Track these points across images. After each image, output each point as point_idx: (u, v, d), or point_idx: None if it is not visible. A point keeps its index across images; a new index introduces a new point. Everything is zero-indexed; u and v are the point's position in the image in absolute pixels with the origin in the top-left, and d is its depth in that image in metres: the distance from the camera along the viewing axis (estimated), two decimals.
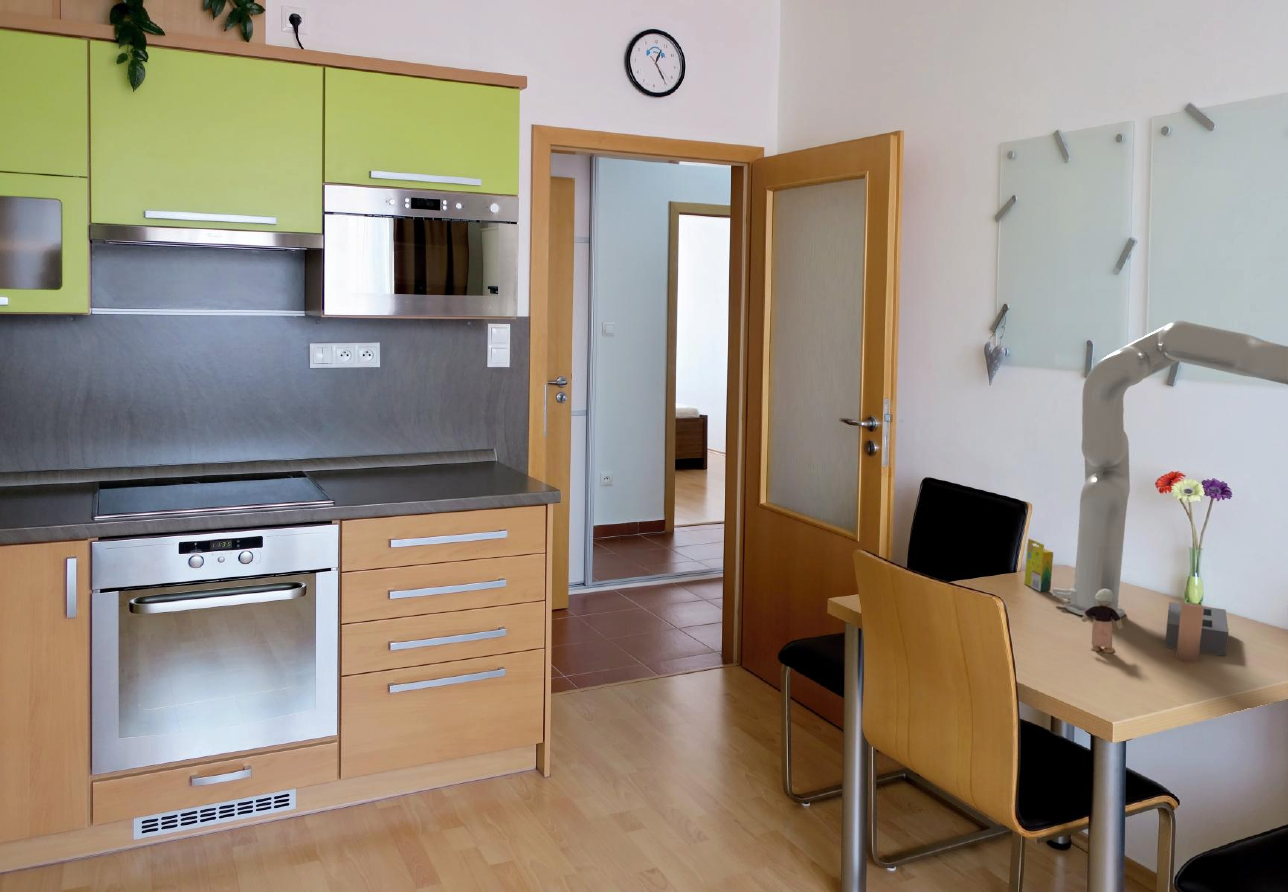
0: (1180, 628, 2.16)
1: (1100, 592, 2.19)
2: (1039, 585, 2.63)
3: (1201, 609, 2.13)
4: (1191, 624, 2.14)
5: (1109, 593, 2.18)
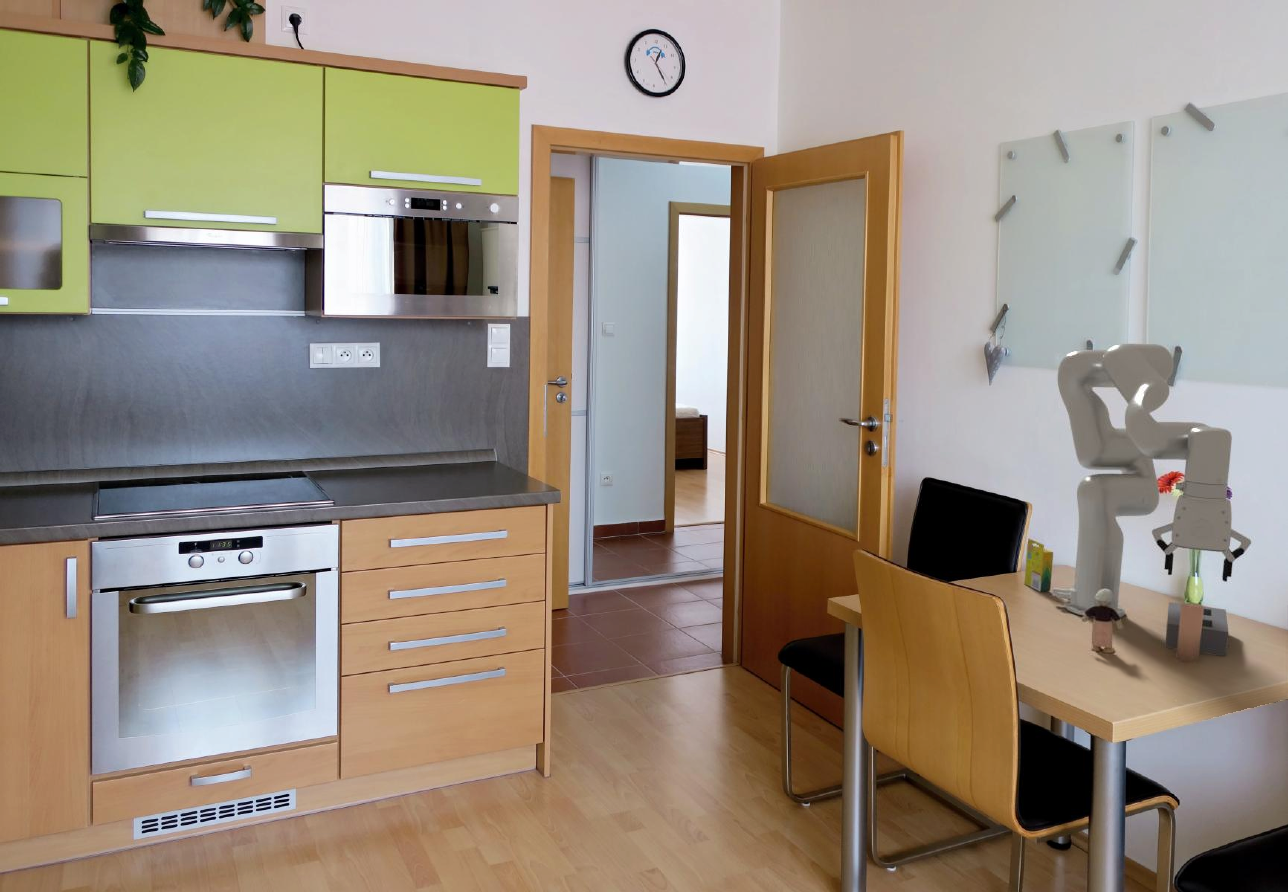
0: (1180, 628, 2.16)
1: (1100, 592, 2.19)
2: (1039, 585, 2.63)
3: (1201, 609, 2.13)
4: (1191, 624, 2.14)
5: (1109, 593, 2.18)
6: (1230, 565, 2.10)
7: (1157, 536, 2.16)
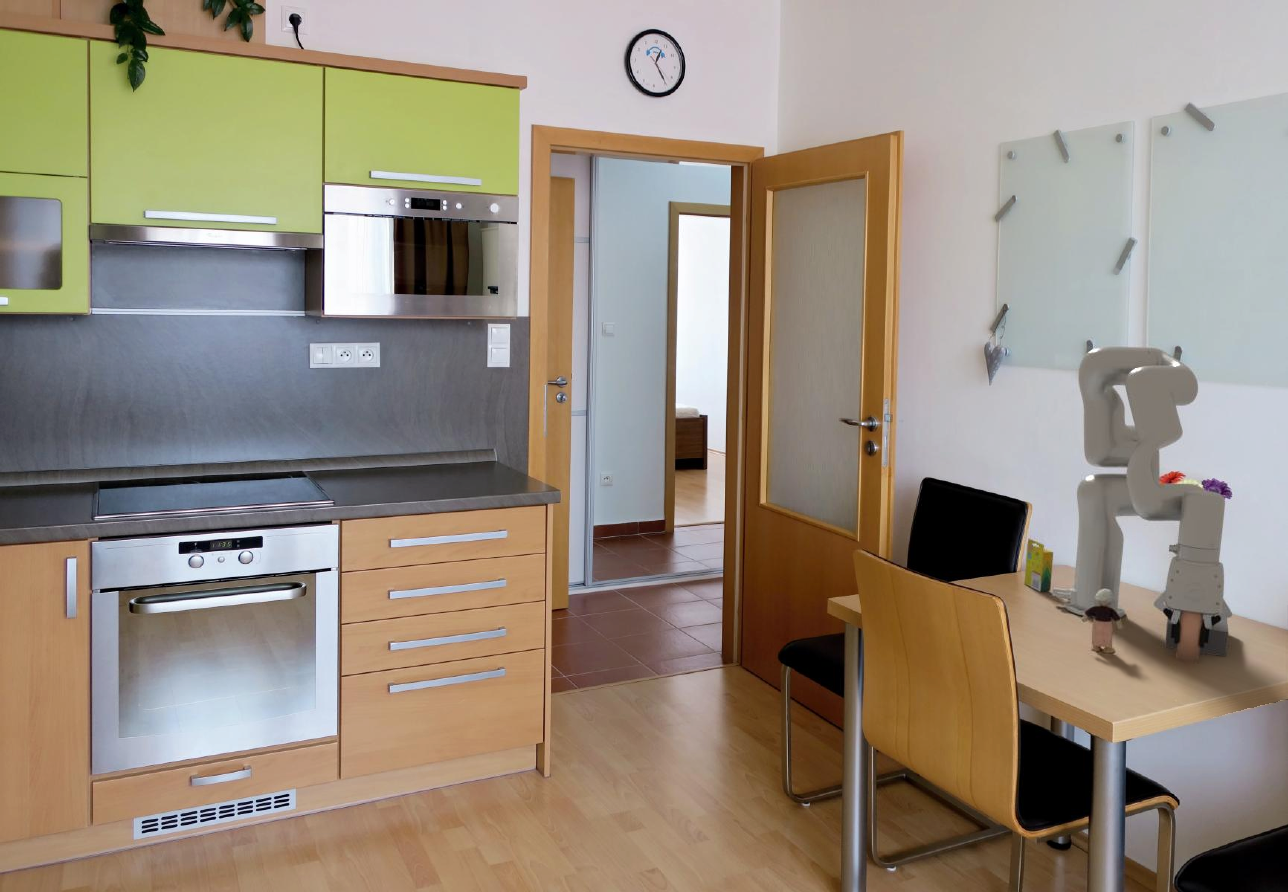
0: (1180, 628, 2.16)
1: (1100, 592, 2.19)
2: (1039, 585, 2.63)
3: None
4: (1191, 624, 2.14)
5: (1109, 593, 2.18)
6: (1207, 632, 2.14)
7: (1161, 607, 2.17)
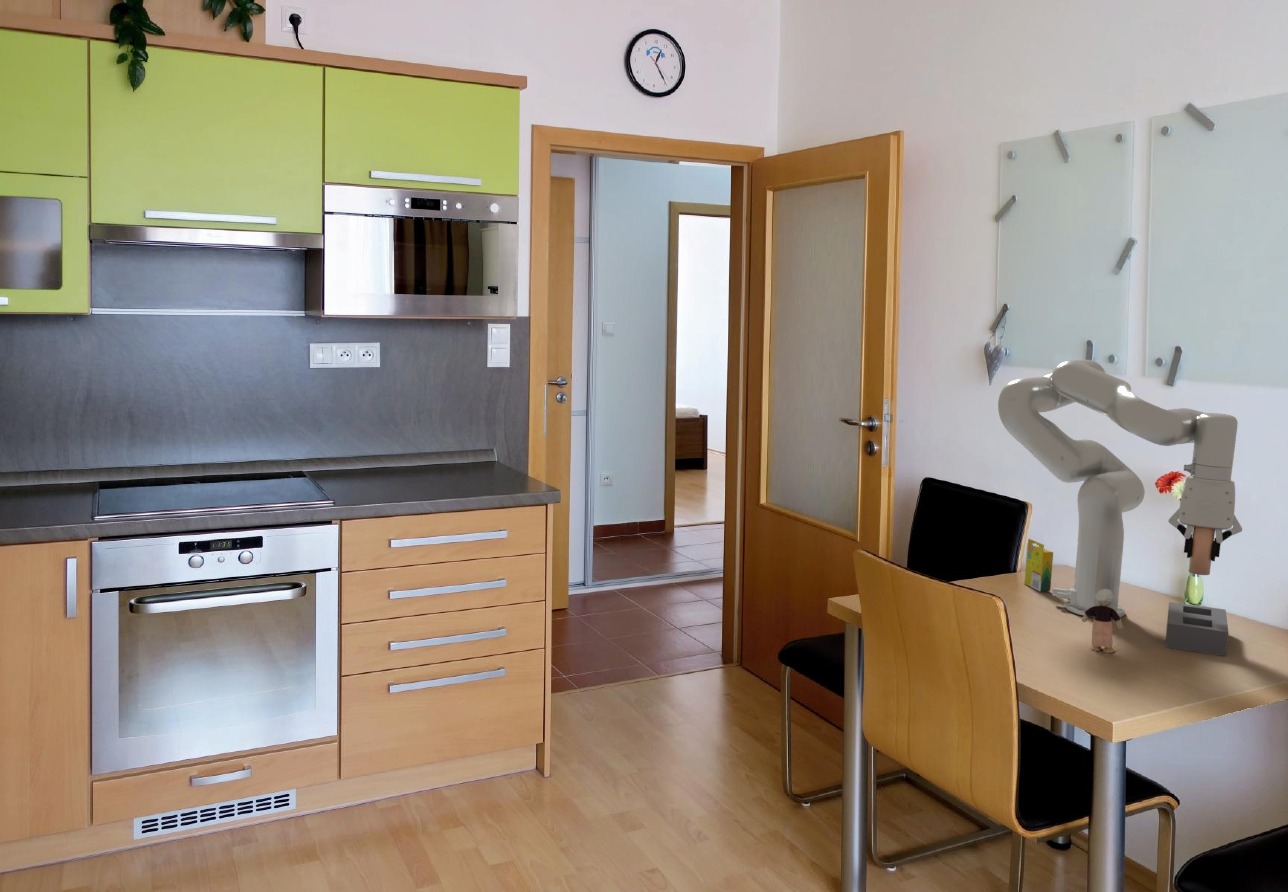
0: (1193, 543, 2.29)
1: (1100, 592, 2.19)
2: (1039, 585, 2.63)
3: None
4: (1203, 538, 2.27)
5: (1109, 593, 2.18)
6: (1218, 546, 2.27)
7: (1175, 523, 2.31)
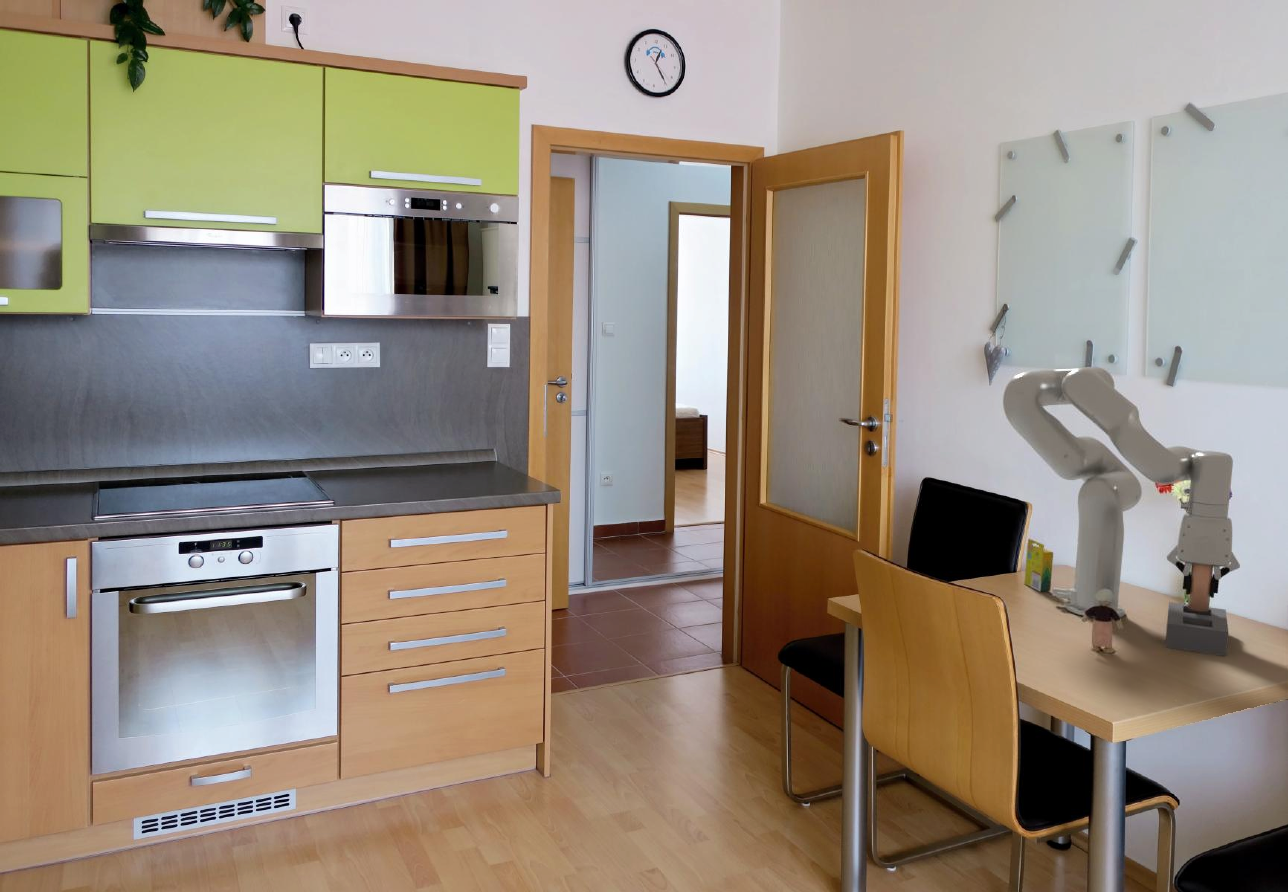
0: (1192, 580, 2.31)
1: (1100, 592, 2.19)
2: (1039, 585, 2.63)
3: None
4: (1201, 575, 2.30)
5: (1109, 593, 2.18)
6: (1217, 582, 2.30)
7: (1173, 560, 2.33)
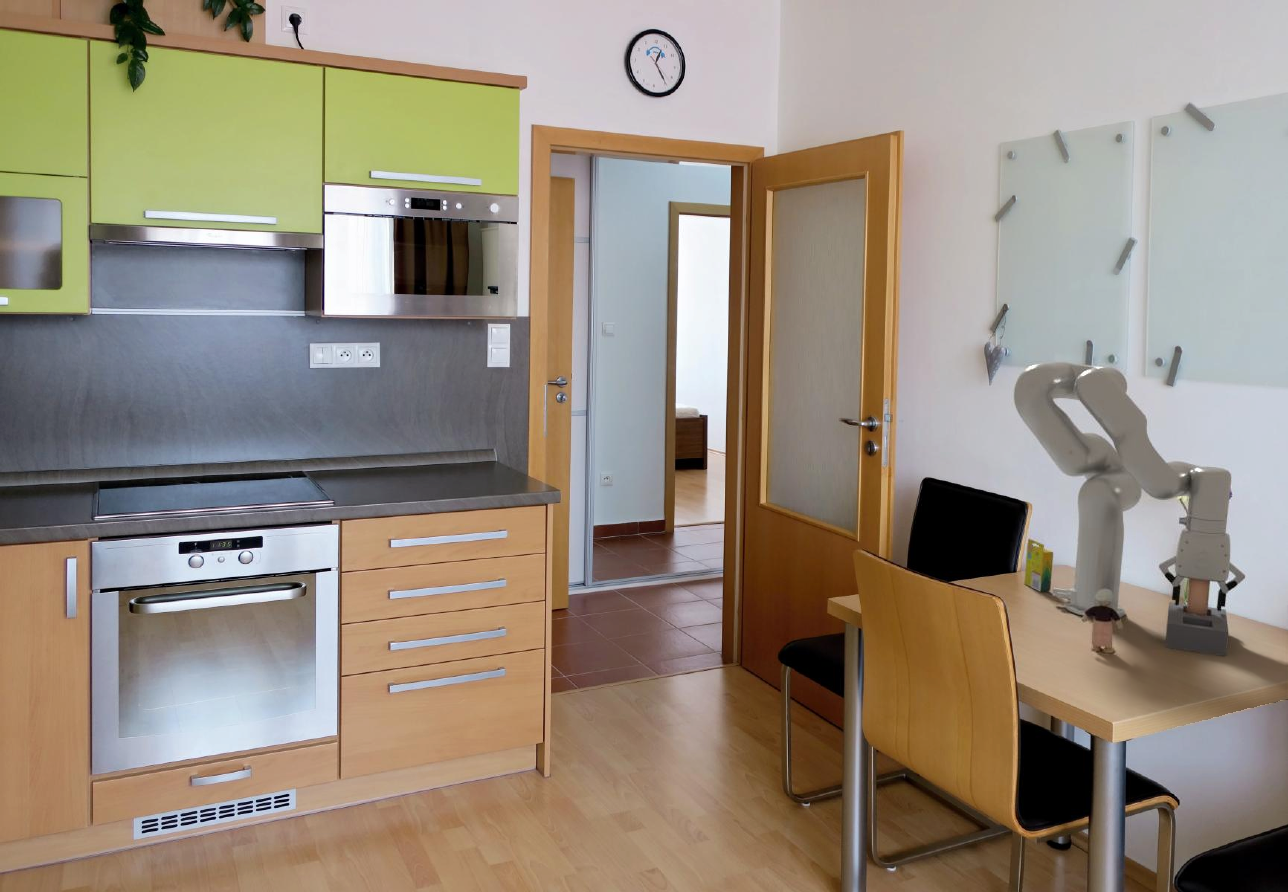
0: (1188, 598, 2.32)
1: (1100, 592, 2.19)
2: (1039, 585, 2.63)
3: None
4: (1198, 593, 2.30)
5: (1109, 593, 2.18)
6: (1224, 596, 2.29)
7: (1165, 570, 2.34)
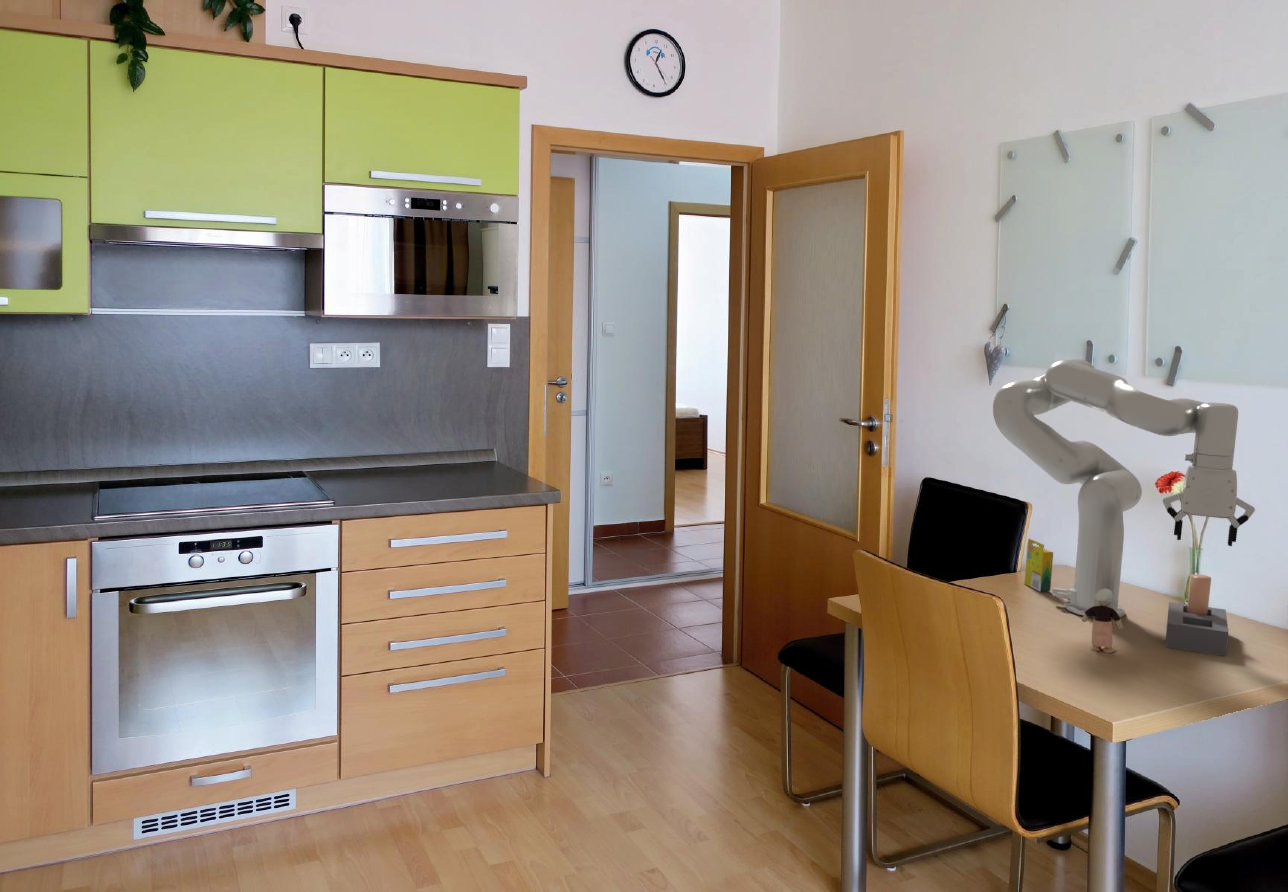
0: (1189, 598, 2.32)
1: (1100, 592, 2.19)
2: (1039, 585, 2.63)
3: (1208, 580, 2.30)
4: (1199, 594, 2.30)
5: (1109, 593, 2.18)
6: (1235, 531, 2.27)
7: (1168, 504, 2.32)
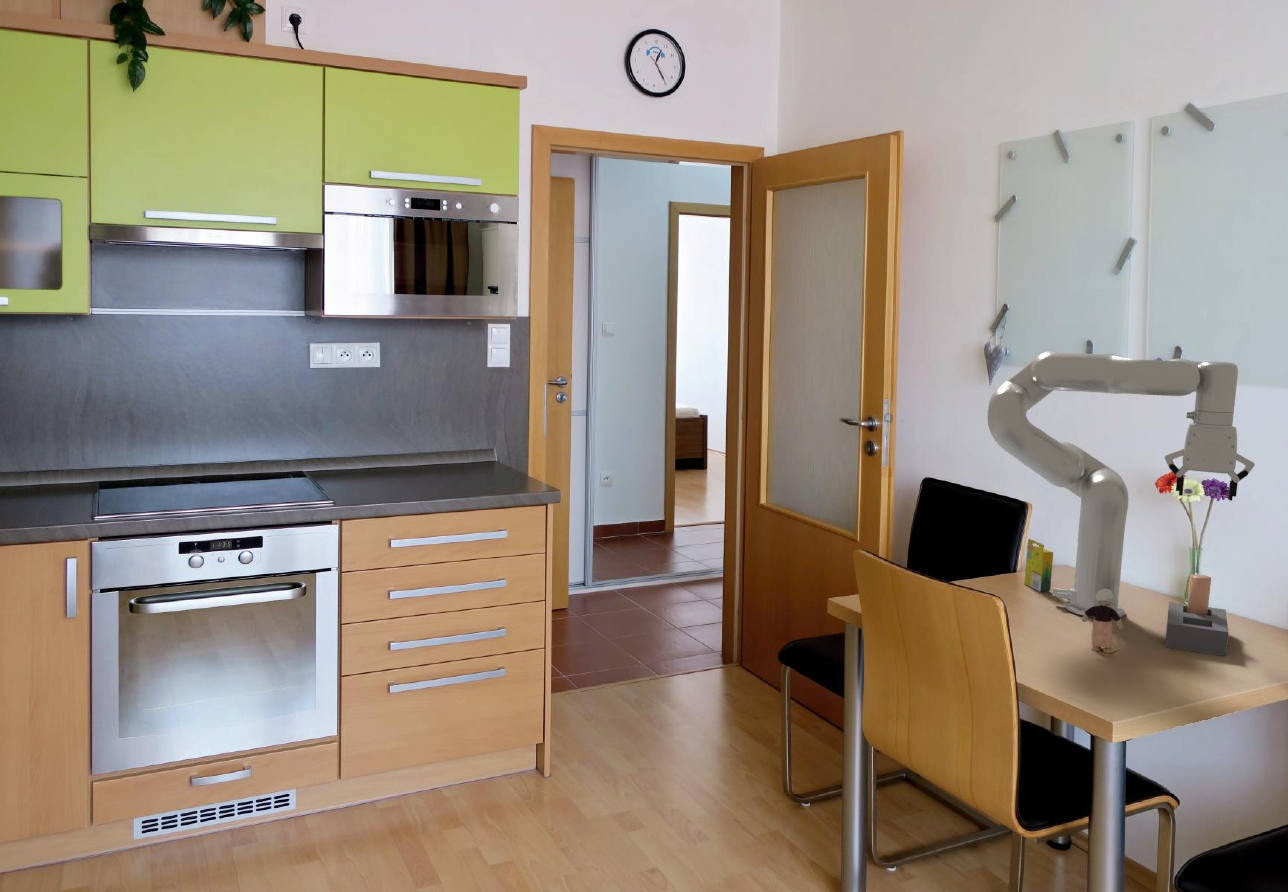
0: (1189, 598, 2.32)
1: (1100, 592, 2.19)
2: (1039, 585, 2.63)
3: (1208, 580, 2.30)
4: (1199, 594, 2.30)
5: (1109, 593, 2.18)
6: (1235, 486, 2.33)
7: (1169, 461, 2.39)
